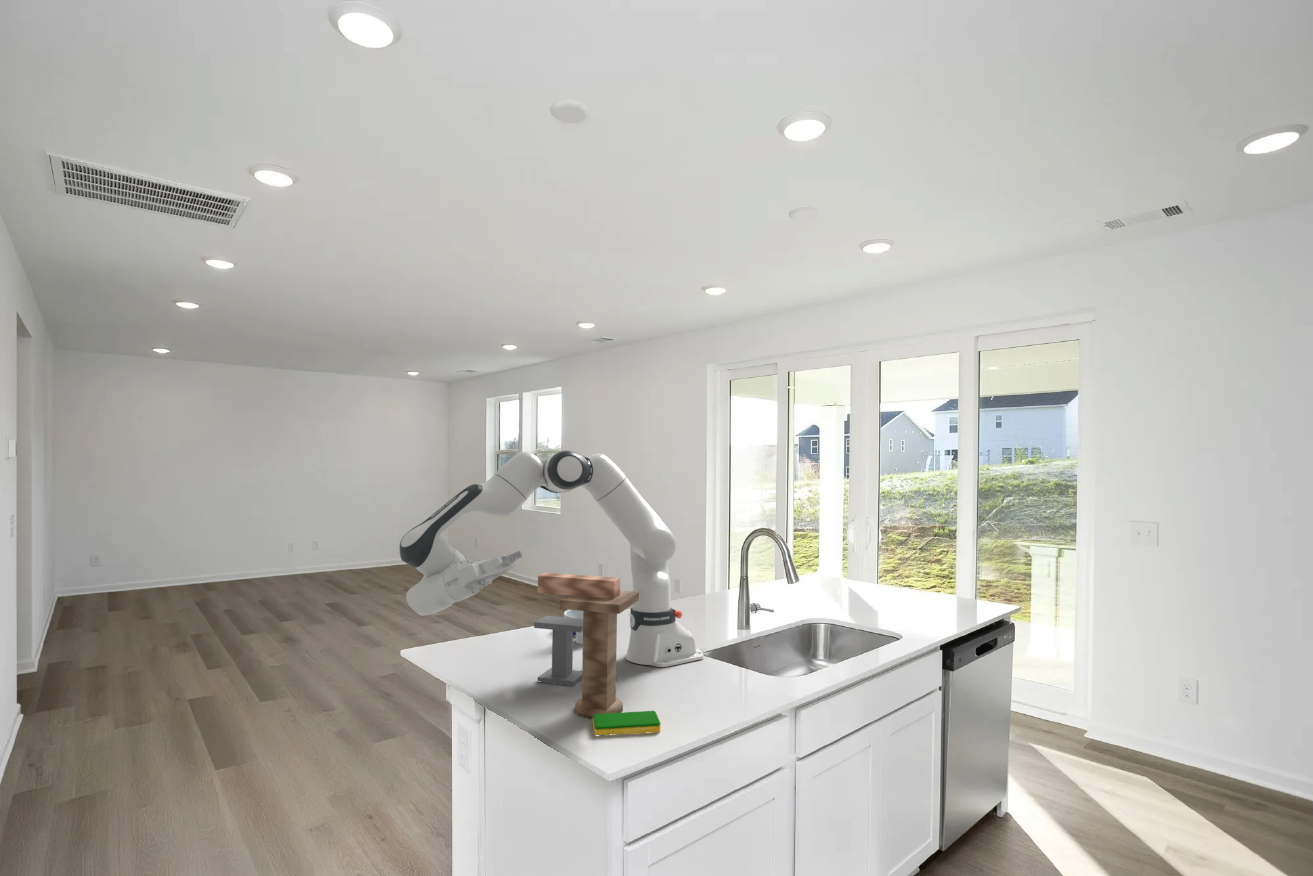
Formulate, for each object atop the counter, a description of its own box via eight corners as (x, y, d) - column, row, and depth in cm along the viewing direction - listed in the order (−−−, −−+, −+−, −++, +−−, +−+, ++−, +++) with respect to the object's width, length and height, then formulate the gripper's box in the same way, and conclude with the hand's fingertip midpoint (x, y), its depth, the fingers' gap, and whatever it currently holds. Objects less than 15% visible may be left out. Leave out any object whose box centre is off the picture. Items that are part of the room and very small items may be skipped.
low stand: (591, 676, 177) (592, 619, 177) (579, 687, 169) (580, 627, 169) (546, 671, 180) (546, 615, 181) (532, 681, 173) (533, 622, 173)
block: (619, 595, 156) (620, 578, 156) (613, 598, 152) (614, 581, 152) (545, 589, 161) (545, 572, 161) (537, 592, 157) (537, 575, 158)
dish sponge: (592, 724, 147) (592, 713, 147) (654, 721, 150) (655, 710, 150) (595, 738, 140) (595, 727, 140) (660, 734, 142) (660, 723, 143)
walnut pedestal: (637, 702, 159) (638, 592, 160) (617, 725, 146) (619, 604, 146) (582, 695, 163) (584, 587, 164) (558, 717, 150) (559, 599, 150)
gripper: (435, 574, 156) (483, 550, 152) (481, 561, 175) (525, 539, 172) (445, 599, 155) (493, 576, 151) (491, 583, 174) (534, 562, 171)
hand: (511, 556), depth 162 cm, fingers open, 8 cm apart
